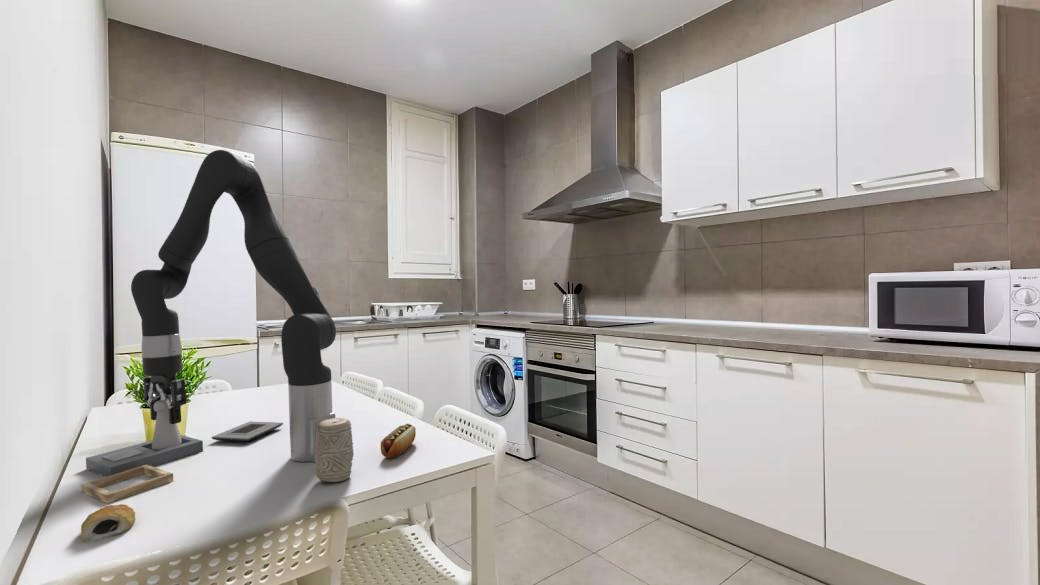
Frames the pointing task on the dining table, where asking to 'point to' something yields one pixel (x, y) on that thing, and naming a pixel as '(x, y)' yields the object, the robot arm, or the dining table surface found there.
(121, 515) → the pastry
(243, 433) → the electrical outlet
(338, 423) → the carving
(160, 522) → the dining table surface
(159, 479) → the wooden square frame
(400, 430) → the hot dog
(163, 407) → the salt shaker
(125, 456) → the grey rectangular frame
